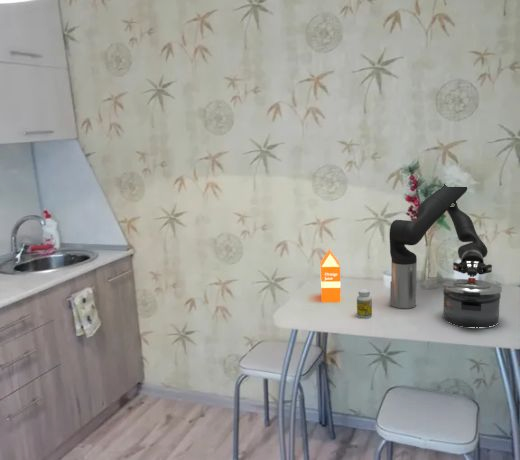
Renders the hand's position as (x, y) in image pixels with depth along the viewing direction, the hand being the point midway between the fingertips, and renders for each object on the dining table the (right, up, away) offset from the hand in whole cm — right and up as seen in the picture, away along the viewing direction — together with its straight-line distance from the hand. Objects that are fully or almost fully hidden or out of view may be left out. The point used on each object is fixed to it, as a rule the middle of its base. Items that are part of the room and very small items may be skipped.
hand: (472, 273), depth 165 cm
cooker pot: (+4, -17, +11) cm, 20 cm away
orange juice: (-41, -14, +39) cm, 59 cm away
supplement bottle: (-32, -17, +18) cm, 41 cm away
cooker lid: (+3, -6, +8) cm, 10 cm away
